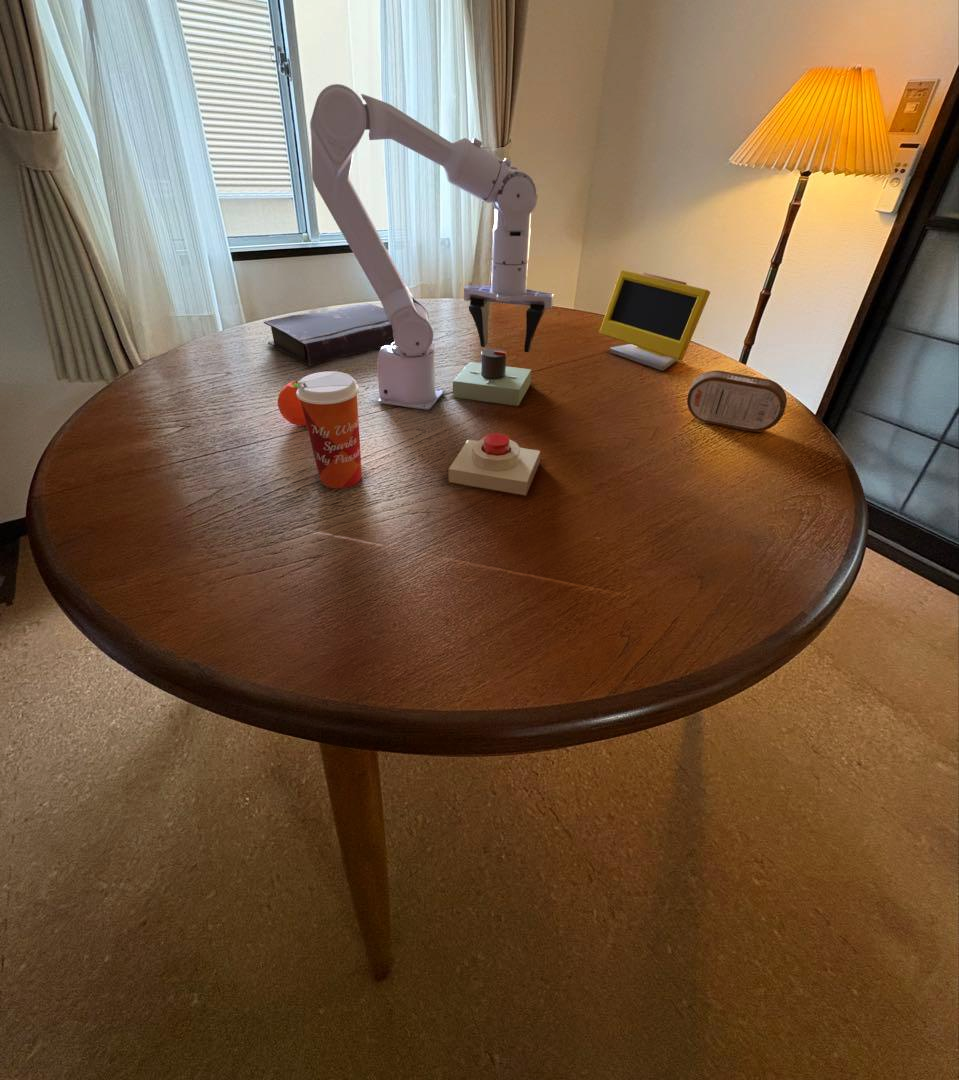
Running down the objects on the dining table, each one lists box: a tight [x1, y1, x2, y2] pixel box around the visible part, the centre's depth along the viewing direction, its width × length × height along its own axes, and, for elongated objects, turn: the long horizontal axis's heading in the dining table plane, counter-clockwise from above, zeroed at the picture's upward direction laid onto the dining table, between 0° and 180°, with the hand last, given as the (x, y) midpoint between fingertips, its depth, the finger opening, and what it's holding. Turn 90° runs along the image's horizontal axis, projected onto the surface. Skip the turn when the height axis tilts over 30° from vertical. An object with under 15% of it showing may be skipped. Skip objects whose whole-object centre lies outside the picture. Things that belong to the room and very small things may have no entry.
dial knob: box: [480, 348, 507, 379], centre depth 100 cm, size 4×4×4 cm
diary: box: [263, 302, 394, 367], centre depth 120 cm, size 19×25×5 cm
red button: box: [483, 432, 511, 456], centre depth 77 cm, size 4×4×2 cm
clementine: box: [277, 380, 307, 427], centre depth 88 cm, size 8×7×7 cm
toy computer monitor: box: [598, 269, 711, 372], centre depth 113 cm, size 20×8×16 cm, turn 41°
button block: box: [448, 437, 541, 496], centre depth 79 cm, size 11×9×4 cm
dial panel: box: [452, 361, 532, 407], centre depth 102 cm, size 12×10×3 cm
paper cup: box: [296, 370, 362, 489], centre depth 74 cm, size 8×8×14 cm
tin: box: [686, 369, 788, 433], centre depth 91 cm, size 15×3×8 cm, turn 65°
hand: (505, 347), depth 96 cm, fingers open, 7 cm apart
